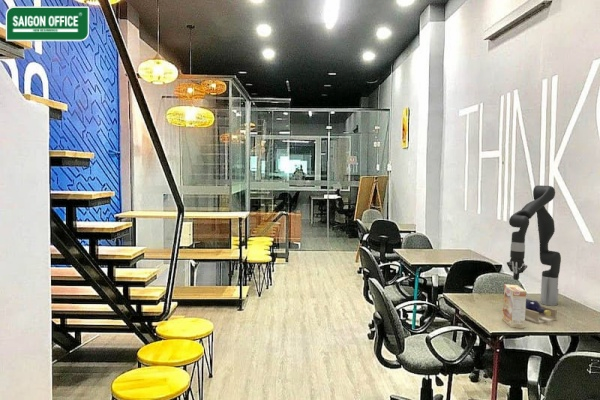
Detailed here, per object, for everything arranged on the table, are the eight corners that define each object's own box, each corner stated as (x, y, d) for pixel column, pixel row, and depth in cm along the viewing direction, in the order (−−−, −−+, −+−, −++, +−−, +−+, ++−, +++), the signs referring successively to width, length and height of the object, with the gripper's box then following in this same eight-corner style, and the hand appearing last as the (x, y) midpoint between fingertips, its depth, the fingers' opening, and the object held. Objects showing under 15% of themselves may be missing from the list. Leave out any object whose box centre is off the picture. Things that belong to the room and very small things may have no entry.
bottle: (506, 307, 294) (538, 318, 265) (511, 292, 295) (544, 301, 266) (519, 312, 296) (553, 324, 266) (524, 298, 297) (559, 307, 267)
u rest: (534, 314, 288) (534, 303, 287) (556, 320, 275) (556, 309, 275) (514, 316, 280) (515, 306, 280) (536, 323, 268) (537, 312, 268)
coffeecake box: (502, 319, 275) (504, 284, 274) (515, 320, 274) (517, 284, 273) (510, 327, 260) (512, 290, 259) (525, 328, 259) (527, 291, 258)
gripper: (532, 251, 284) (530, 281, 285) (512, 248, 296) (511, 277, 297) (522, 252, 281) (521, 282, 282) (503, 248, 293) (502, 278, 293)
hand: (516, 279), depth 289 cm, fingers closed
